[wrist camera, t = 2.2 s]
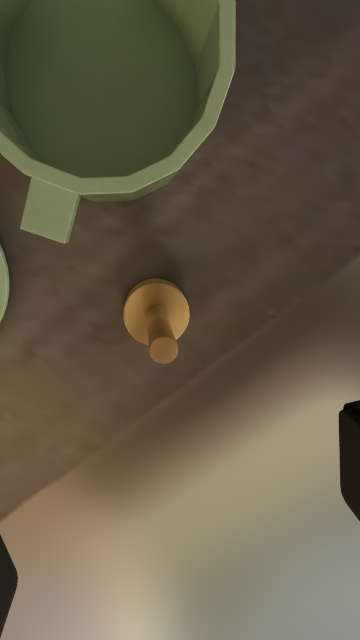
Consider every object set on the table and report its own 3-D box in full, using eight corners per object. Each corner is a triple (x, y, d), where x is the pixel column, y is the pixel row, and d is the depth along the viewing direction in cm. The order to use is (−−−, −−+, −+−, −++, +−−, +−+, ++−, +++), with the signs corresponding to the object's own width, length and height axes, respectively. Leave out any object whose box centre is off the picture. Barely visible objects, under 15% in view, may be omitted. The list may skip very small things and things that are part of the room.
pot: (250, -18, 21) (308, -141, 14) (155, 262, 25) (162, 279, 18) (34, -143, 18) (-33, -379, 11) (-31, 197, 23) (-109, 186, 15)
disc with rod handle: (194, 289, 26) (221, 322, 18) (173, 344, 28) (190, 400, 19) (135, 269, 25) (134, 294, 17) (116, 327, 26) (106, 378, 18)
